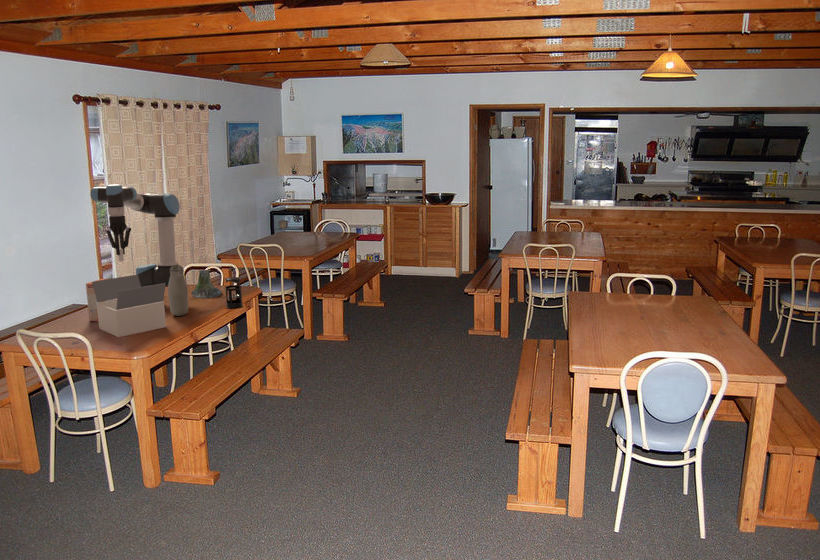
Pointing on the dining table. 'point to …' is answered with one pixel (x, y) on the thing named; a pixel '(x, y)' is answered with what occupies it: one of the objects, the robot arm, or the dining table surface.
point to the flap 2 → (140, 296)
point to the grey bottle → (178, 291)
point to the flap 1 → (114, 287)
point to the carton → (130, 318)
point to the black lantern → (233, 303)
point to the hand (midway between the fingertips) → (121, 261)
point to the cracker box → (92, 302)
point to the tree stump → (205, 287)
